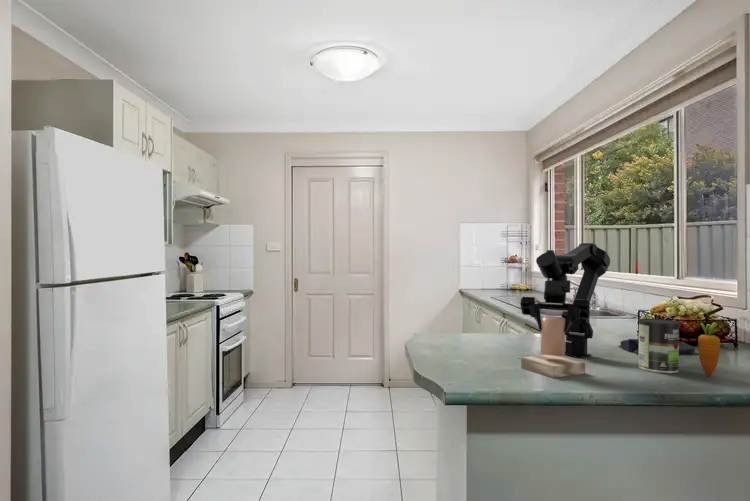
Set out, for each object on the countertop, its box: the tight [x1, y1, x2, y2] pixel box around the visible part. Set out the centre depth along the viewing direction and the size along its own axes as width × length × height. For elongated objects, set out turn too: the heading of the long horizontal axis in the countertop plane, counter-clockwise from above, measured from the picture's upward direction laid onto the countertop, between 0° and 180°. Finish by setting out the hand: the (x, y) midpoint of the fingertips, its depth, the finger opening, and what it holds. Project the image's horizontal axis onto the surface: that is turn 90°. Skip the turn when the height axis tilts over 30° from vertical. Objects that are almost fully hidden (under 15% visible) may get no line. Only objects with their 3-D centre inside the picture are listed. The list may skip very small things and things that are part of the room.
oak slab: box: [520, 354, 586, 379], centre depth 137 cm, size 12×12×3 cm
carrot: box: [697, 321, 721, 377], centre depth 132 cm, size 5×5×15 cm
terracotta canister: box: [540, 315, 566, 357], centre depth 137 cm, size 6×6×10 cm
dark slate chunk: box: [617, 338, 696, 355], centre depth 167 cm, size 15×22×5 cm
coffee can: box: [637, 318, 681, 374], centre depth 140 cm, size 10×10×14 cm
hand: (552, 330), depth 136 cm, fingers closed on terracotta canister, 6 cm apart
